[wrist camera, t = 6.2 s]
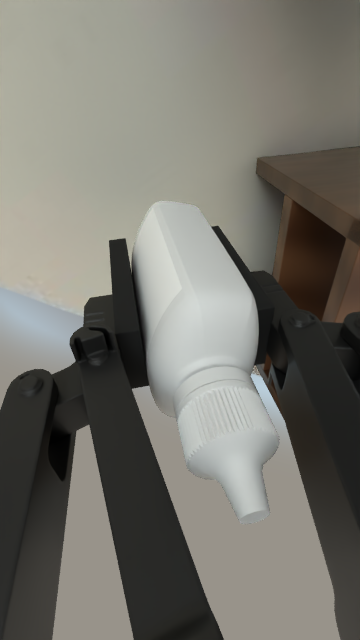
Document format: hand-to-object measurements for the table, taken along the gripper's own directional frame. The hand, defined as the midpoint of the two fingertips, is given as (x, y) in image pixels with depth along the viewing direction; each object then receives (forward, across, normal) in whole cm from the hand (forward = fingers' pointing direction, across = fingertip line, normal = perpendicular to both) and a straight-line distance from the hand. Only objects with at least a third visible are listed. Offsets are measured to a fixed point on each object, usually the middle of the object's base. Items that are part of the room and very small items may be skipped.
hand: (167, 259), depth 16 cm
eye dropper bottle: (+1, 0, 0) cm, 1 cm away
